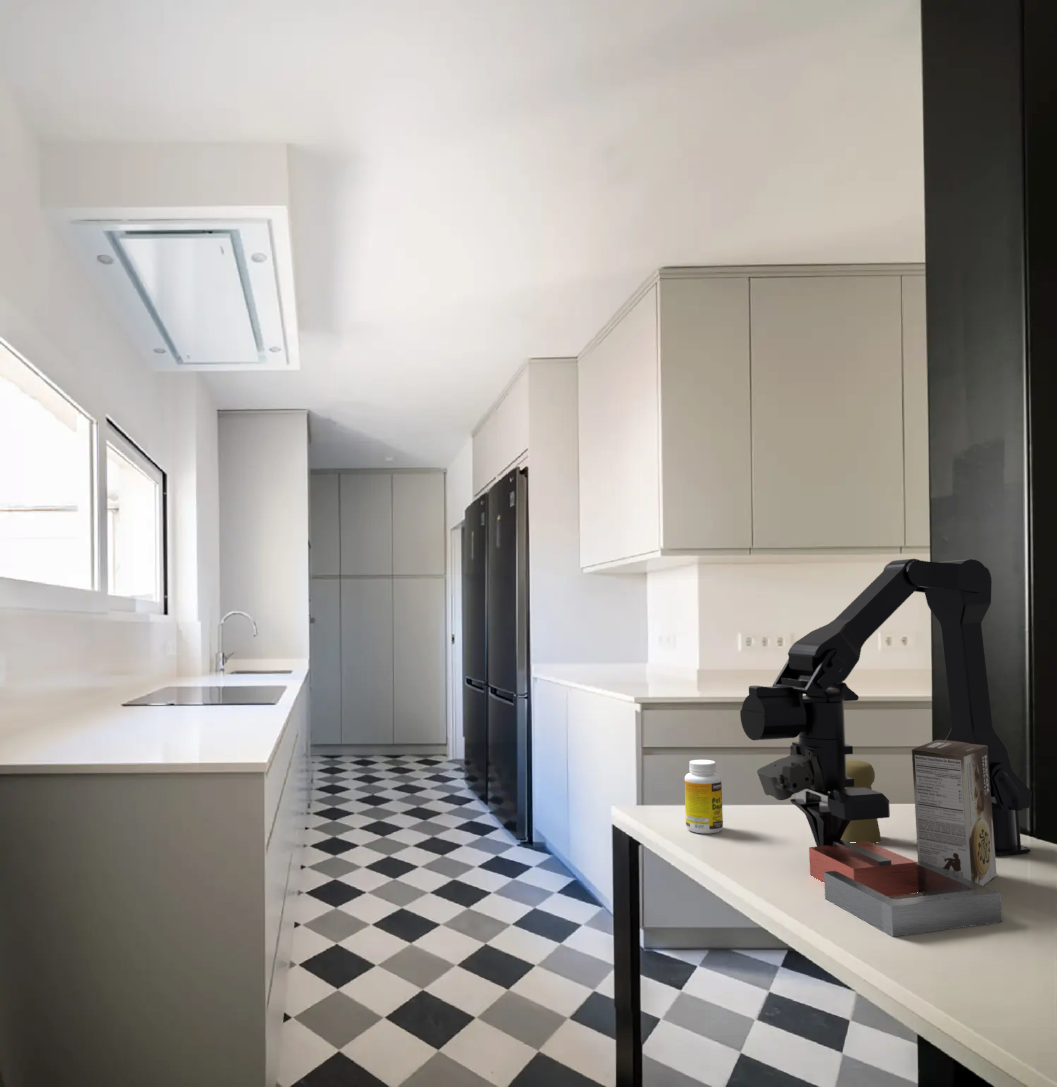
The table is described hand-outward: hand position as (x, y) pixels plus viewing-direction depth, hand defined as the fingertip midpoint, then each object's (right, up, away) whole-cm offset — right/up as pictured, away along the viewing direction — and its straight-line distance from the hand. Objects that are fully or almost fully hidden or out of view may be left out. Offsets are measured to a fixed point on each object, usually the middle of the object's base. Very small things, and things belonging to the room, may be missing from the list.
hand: (826, 859), depth 105 cm
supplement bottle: (-11, -3, +19) cm, 23 cm away
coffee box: (+14, -1, -5) cm, 15 cm away
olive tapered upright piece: (+10, -2, +13) cm, 17 cm away
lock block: (+2, -1, -6) cm, 7 cm away
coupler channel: (+4, 0, -14) cm, 14 cm away
